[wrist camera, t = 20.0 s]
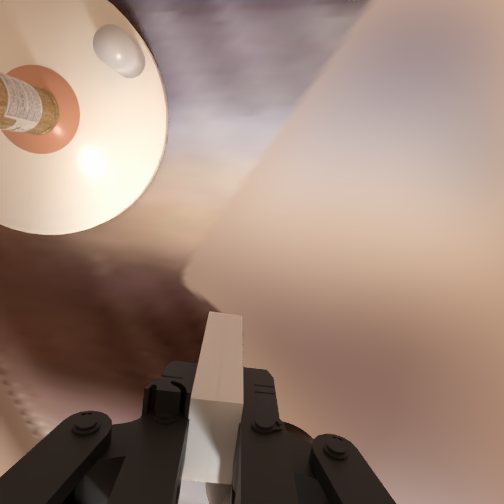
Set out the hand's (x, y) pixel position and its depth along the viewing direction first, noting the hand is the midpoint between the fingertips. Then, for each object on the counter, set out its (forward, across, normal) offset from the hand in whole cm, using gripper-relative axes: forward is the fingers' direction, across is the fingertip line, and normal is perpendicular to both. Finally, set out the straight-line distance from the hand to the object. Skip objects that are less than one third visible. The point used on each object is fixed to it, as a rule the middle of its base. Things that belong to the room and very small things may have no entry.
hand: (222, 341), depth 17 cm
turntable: (+26, +20, -10) cm, 35 cm away
